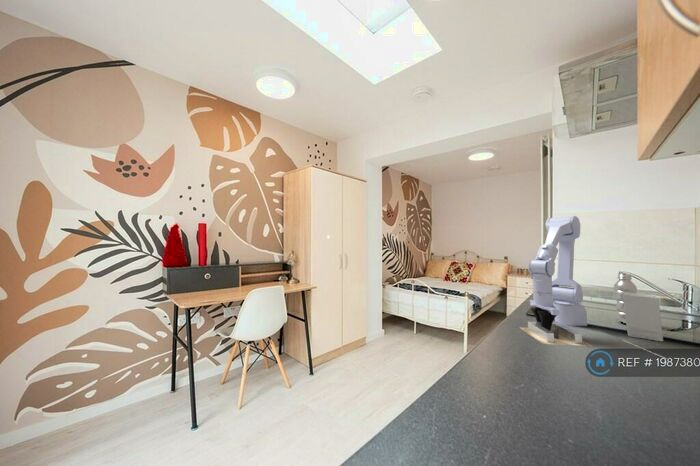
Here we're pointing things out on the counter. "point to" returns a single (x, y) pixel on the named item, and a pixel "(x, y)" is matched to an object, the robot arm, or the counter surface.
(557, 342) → the hook board
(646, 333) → the skincare box
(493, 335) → the counter surface
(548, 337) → the c link
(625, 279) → the plastic bottle
